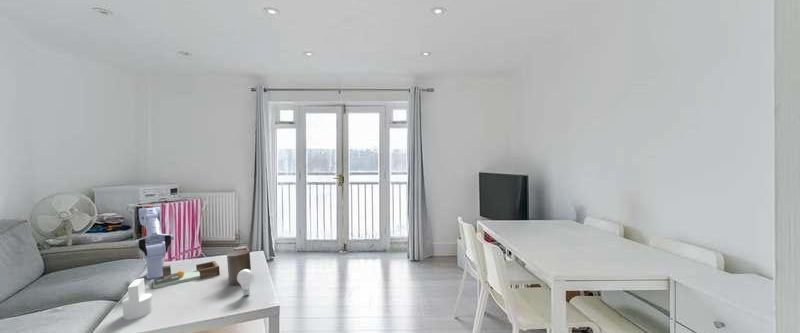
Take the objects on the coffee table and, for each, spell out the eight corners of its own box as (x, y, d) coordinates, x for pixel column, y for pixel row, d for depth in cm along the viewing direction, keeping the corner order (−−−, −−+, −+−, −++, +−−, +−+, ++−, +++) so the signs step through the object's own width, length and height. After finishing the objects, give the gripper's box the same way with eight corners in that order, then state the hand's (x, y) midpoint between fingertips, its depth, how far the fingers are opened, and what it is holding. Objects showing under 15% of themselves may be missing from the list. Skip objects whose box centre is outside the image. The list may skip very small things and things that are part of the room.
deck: (152, 282, 166) (152, 279, 166) (198, 272, 178) (198, 270, 178) (153, 288, 158) (153, 285, 158) (201, 277, 170) (201, 275, 170)
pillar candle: (256, 279, 164) (254, 248, 164) (236, 287, 156) (234, 253, 155) (243, 276, 169) (241, 246, 169) (224, 283, 161) (221, 251, 161)
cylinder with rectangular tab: (127, 311, 136) (125, 280, 135) (155, 306, 139) (153, 276, 139) (120, 321, 127) (117, 289, 127) (149, 316, 131) (147, 284, 130)
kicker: (163, 278, 167) (162, 266, 166) (170, 276, 169) (169, 264, 168) (163, 281, 163) (162, 268, 162) (171, 279, 165) (170, 267, 164)
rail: (154, 280, 166) (153, 277, 166) (177, 275, 171) (177, 272, 171) (154, 284, 160) (154, 282, 159) (179, 279, 165) (179, 277, 165)
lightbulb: (238, 299, 142) (236, 273, 142) (237, 294, 148) (236, 268, 147) (255, 296, 145) (253, 270, 145) (254, 291, 151) (252, 265, 150)
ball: (177, 276, 169) (176, 270, 169) (184, 275, 171) (183, 269, 171) (177, 278, 167) (177, 272, 167) (185, 276, 169) (184, 270, 169)
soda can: (244, 275, 171) (243, 249, 170) (231, 275, 172) (229, 249, 171) (253, 270, 178) (252, 245, 177) (241, 270, 179) (239, 245, 178)
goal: (196, 272, 178) (196, 264, 178) (215, 268, 183) (214, 260, 183) (200, 278, 169) (199, 270, 169) (219, 274, 174) (219, 266, 174)
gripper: (134, 228, 161) (136, 249, 153) (171, 223, 170) (175, 242, 162) (135, 239, 165) (137, 260, 156) (172, 234, 174) (175, 253, 165)
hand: (156, 252), depth 159 cm, fingers open, 7 cm apart
